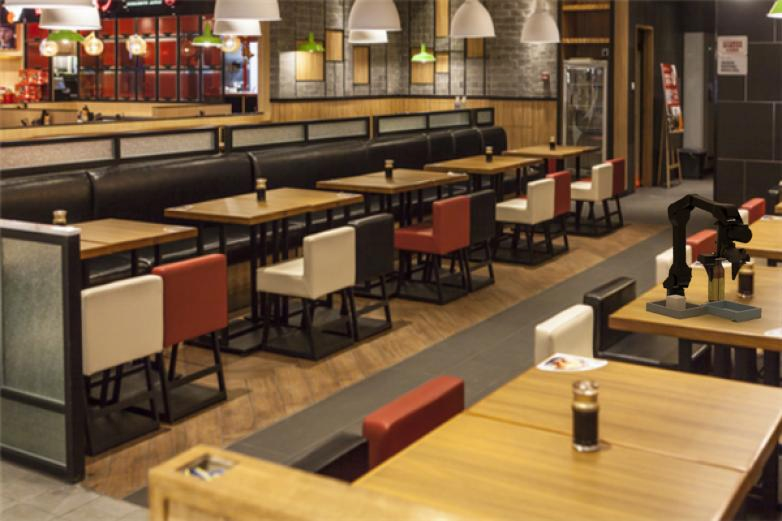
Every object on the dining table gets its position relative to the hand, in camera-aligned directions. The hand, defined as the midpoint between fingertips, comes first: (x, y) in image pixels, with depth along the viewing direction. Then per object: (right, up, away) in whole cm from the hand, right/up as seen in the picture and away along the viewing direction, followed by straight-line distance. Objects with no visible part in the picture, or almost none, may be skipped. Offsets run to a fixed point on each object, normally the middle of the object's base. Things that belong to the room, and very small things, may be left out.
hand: (722, 280), depth 370 cm
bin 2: (+5, -13, +5) cm, 14 cm away
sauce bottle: (+6, -9, +25) cm, 27 cm away
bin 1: (-15, -13, +7) cm, 21 cm away
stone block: (-15, -12, +7) cm, 21 cm away
